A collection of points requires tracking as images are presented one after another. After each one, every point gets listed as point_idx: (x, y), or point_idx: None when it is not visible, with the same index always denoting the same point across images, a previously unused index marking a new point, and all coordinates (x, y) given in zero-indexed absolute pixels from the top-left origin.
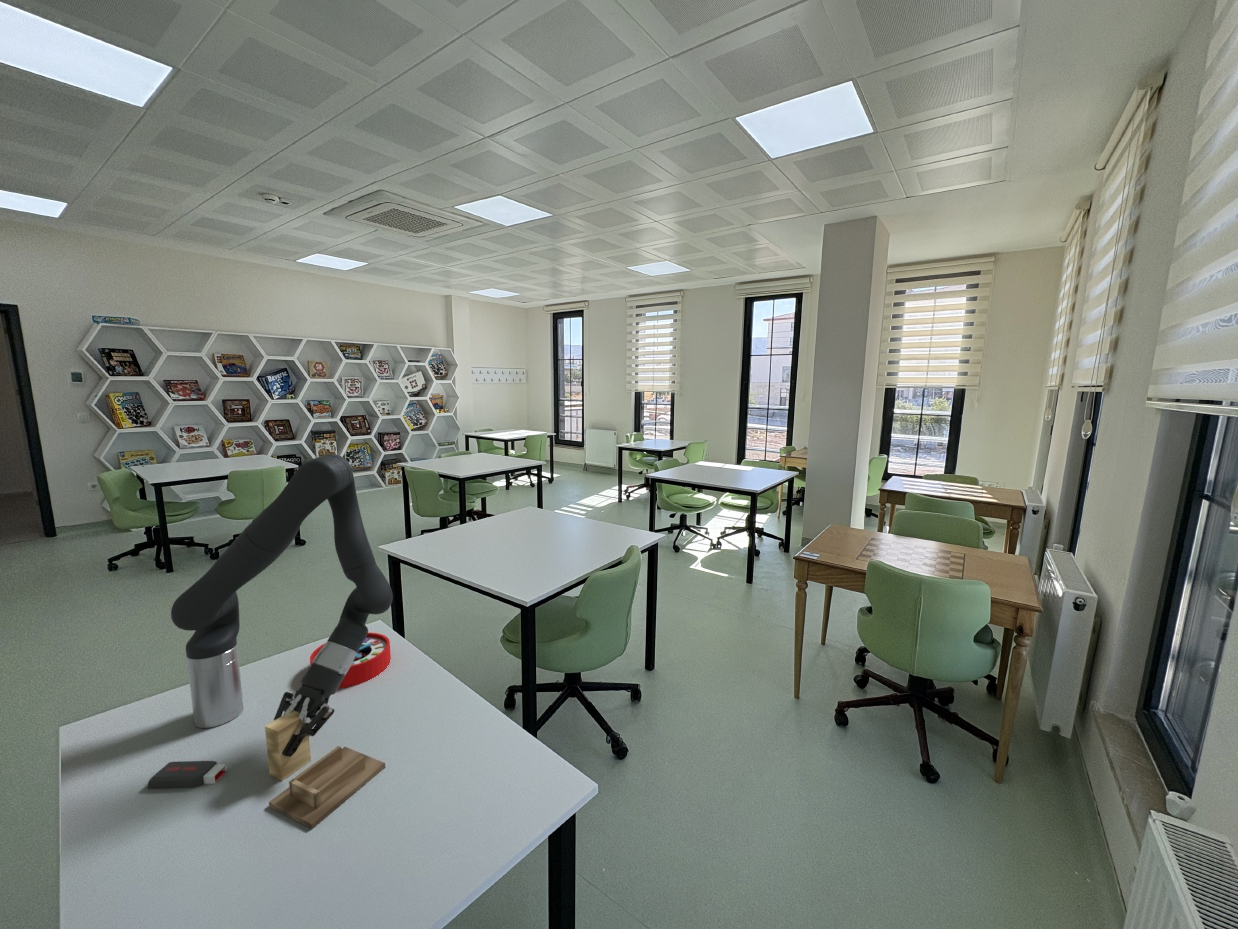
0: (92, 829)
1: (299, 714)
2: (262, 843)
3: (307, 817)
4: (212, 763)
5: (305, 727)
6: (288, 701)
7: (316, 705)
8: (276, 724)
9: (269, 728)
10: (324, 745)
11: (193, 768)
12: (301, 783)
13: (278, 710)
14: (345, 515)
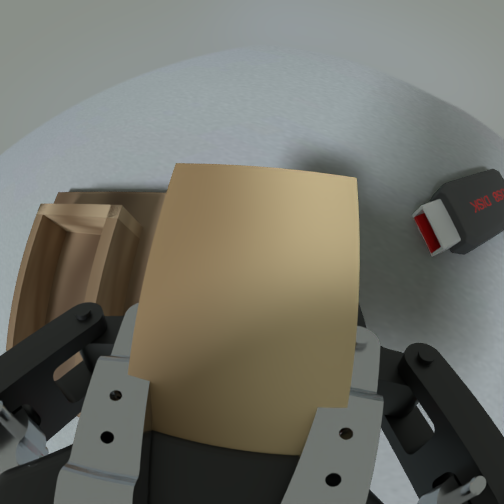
0: (446, 108)
1: (181, 420)
2: (130, 145)
3: (70, 198)
4: (464, 226)
5: (83, 329)
6: (458, 486)
7: (19, 466)
8: (277, 222)
9: (289, 171)
10: None
11: (477, 205)
12: (85, 214)
13: (465, 398)
14: None
